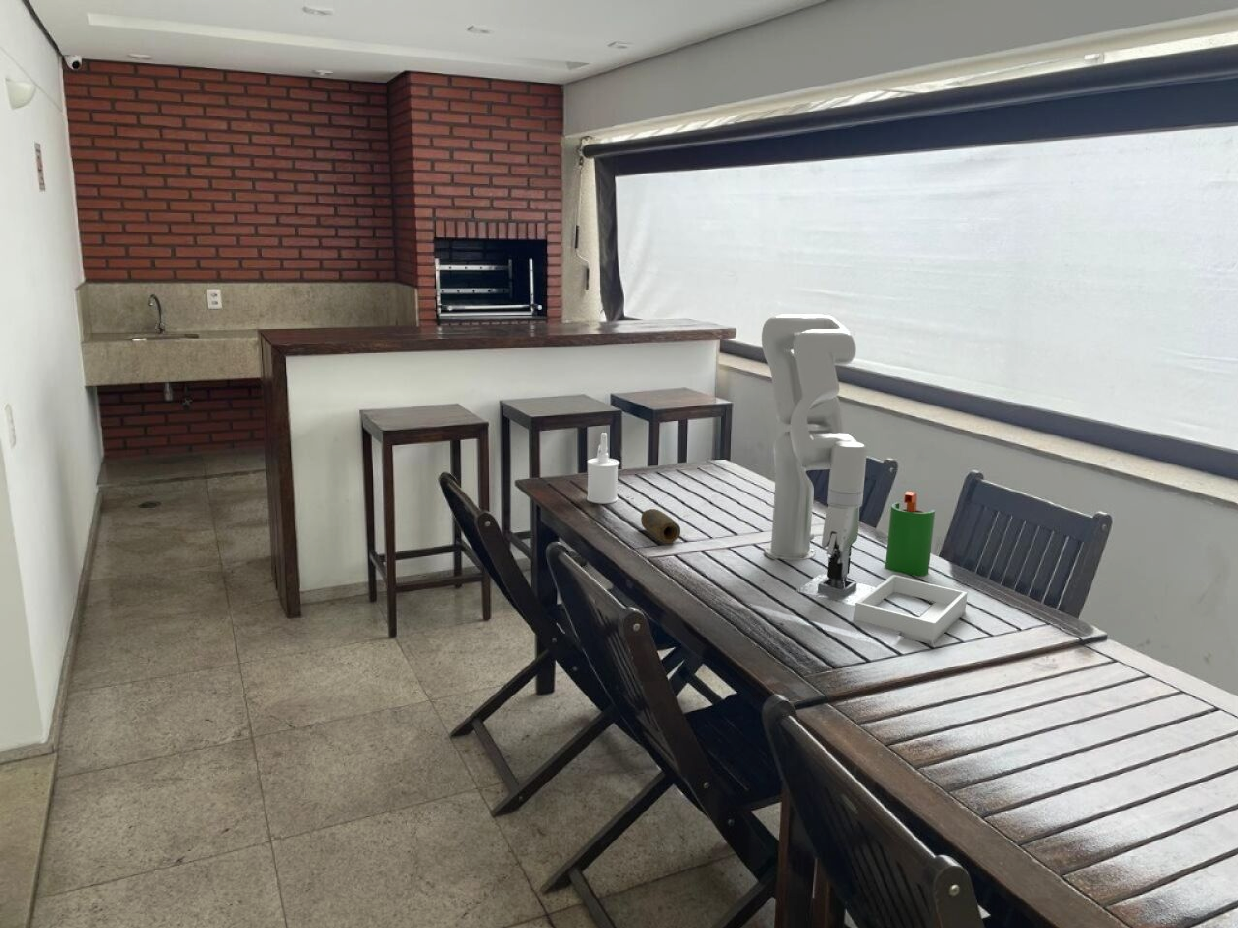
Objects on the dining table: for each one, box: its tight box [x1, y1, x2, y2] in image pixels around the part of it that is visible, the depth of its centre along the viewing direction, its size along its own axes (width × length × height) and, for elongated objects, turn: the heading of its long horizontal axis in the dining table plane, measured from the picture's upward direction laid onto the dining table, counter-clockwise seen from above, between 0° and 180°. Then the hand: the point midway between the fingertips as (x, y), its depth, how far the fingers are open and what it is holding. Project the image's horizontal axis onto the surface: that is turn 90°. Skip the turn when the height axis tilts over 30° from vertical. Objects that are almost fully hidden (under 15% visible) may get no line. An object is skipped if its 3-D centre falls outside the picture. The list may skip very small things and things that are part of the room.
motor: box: [884, 491, 936, 578], centre depth 231 cm, size 10×9×20 cm
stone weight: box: [640, 508, 681, 544], centre depth 253 cm, size 15×7×7 cm, turn 23°
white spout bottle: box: [586, 432, 620, 504], centre depth 285 cm, size 10×9×20 cm
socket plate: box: [794, 573, 877, 607], centre depth 217 cm, size 14×14×2 cm
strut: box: [828, 546, 850, 589], centre depth 216 cm, size 4×4×14 cm
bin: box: [853, 574, 969, 645], centre depth 205 cm, size 22×17×4 cm
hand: (838, 575), depth 217 cm, fingers closed on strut, 4 cm apart
